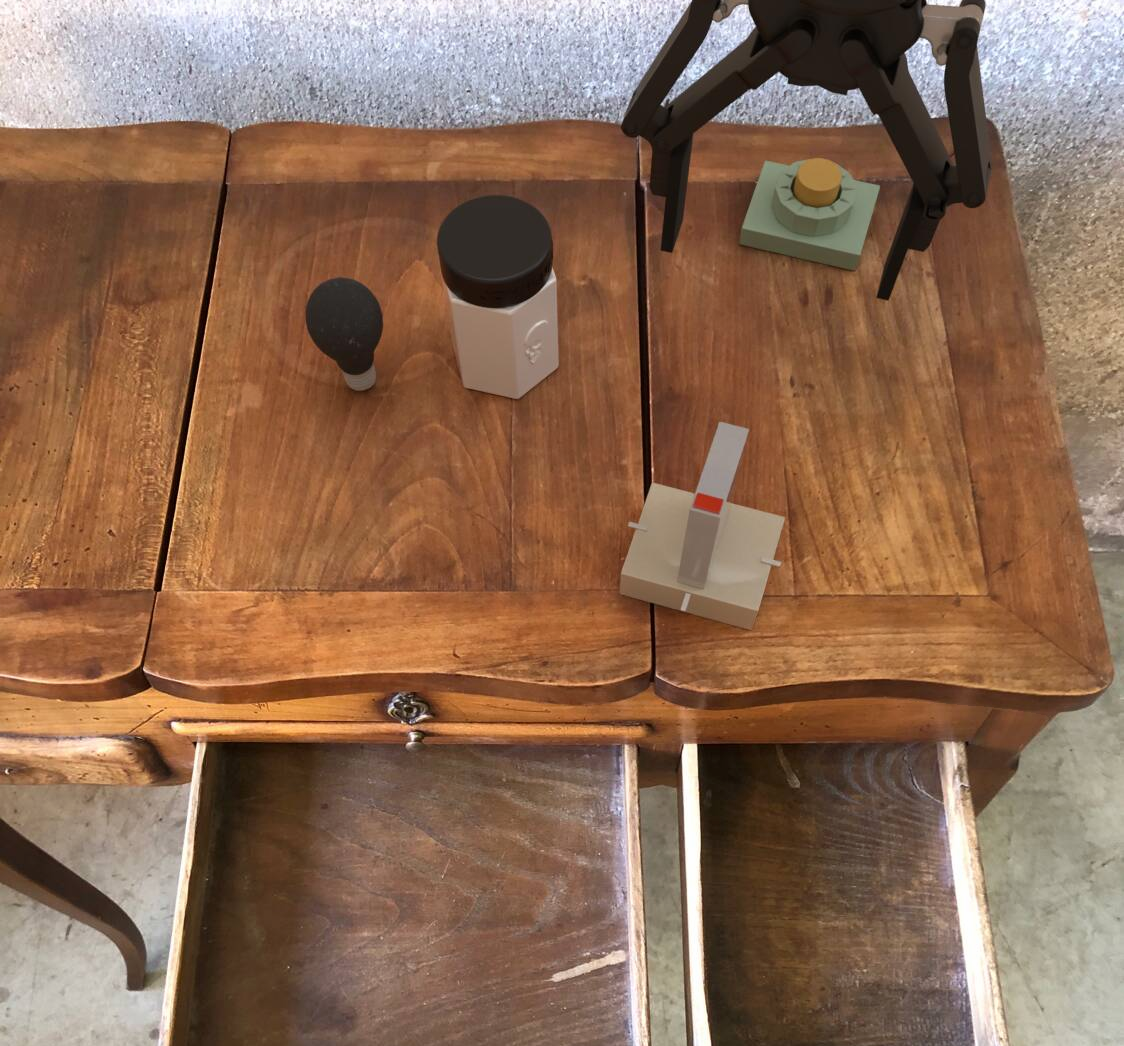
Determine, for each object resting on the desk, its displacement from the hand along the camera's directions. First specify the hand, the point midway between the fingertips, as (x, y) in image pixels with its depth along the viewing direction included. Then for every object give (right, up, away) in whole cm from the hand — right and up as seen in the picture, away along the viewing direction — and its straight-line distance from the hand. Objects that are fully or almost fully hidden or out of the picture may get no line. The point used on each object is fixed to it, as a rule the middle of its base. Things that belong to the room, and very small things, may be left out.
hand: (777, 259), depth 65 cm
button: (+7, +15, +21) cm, 27 cm away
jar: (-18, +1, +20) cm, 27 cm away
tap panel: (-3, -17, +12) cm, 21 cm away
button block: (+7, +14, +24) cm, 29 cm away
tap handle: (-3, -16, +10) cm, 19 cm away
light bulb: (-29, -1, +19) cm, 35 cm away
